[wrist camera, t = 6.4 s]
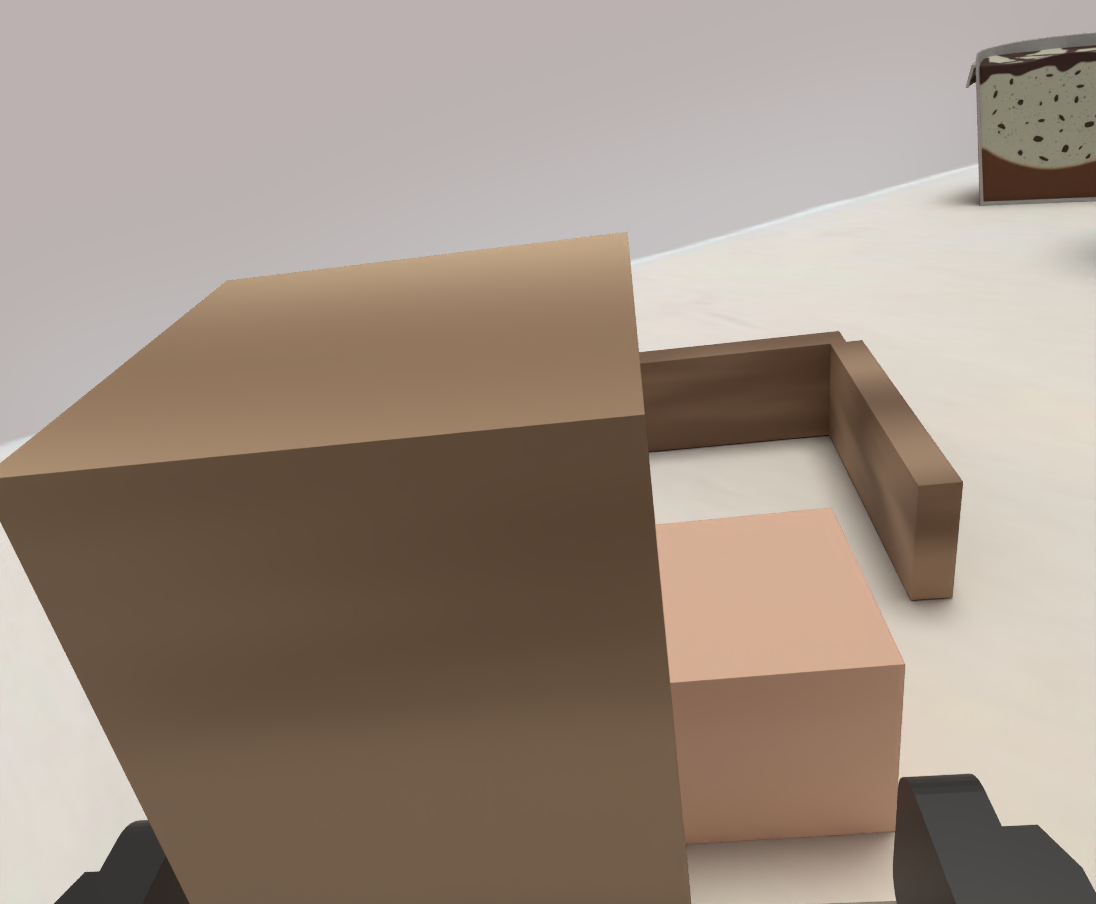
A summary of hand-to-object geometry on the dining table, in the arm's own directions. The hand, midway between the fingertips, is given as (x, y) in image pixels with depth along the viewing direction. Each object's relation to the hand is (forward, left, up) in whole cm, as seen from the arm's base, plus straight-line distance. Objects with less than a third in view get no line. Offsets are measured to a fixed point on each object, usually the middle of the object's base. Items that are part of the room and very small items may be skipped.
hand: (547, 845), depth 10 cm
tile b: (-9, -5, -9) cm, 14 cm away
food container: (-65, -20, -9) cm, 68 cm away
